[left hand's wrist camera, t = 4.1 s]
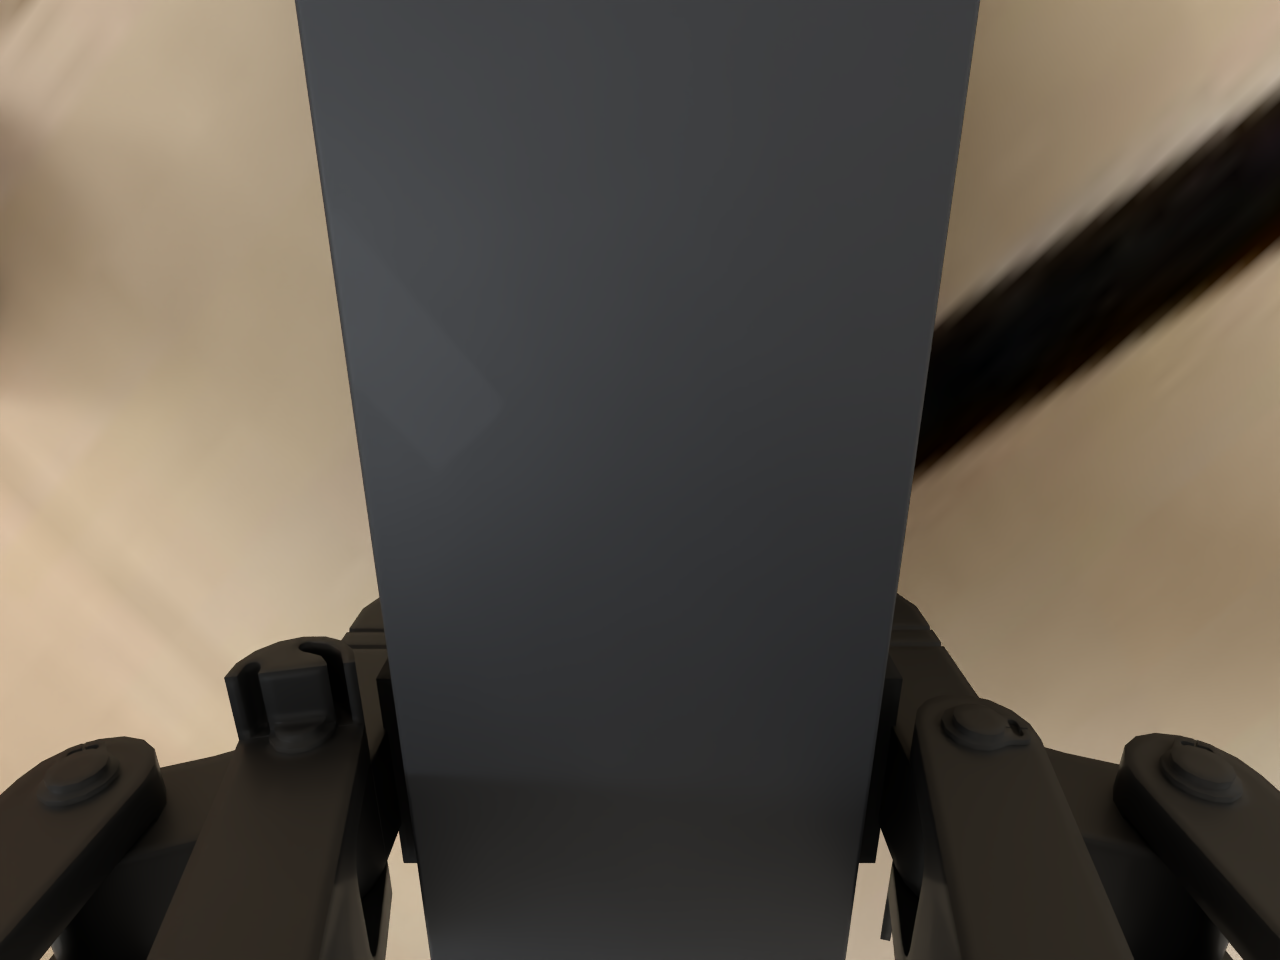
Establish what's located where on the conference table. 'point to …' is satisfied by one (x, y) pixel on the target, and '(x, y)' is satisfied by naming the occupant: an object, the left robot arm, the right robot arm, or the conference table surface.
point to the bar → (637, 440)
